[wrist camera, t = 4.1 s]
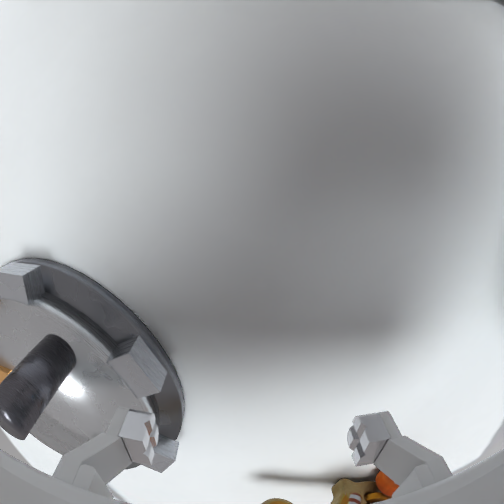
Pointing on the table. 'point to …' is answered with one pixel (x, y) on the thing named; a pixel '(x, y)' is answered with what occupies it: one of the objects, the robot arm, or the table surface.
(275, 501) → the toy helicopter
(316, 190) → the table surface
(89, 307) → the sprocket base
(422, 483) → the robot arm
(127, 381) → the sprocket
